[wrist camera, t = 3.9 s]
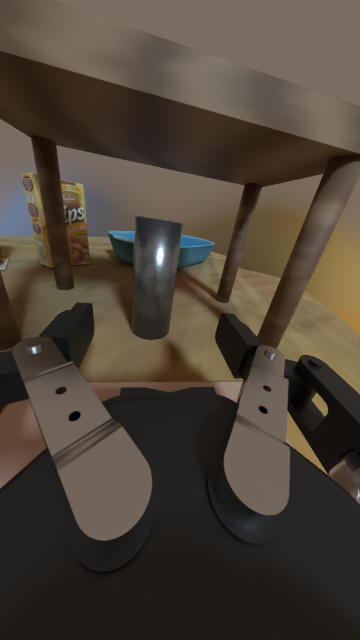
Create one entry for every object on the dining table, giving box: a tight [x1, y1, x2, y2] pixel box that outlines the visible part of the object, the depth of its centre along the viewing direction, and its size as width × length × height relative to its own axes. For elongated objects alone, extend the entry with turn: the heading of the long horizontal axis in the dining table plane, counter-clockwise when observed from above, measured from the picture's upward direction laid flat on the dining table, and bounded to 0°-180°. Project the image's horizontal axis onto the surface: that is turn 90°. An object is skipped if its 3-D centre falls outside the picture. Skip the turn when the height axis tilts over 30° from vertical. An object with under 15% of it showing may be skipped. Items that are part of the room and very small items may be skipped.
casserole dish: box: [108, 231, 215, 269], centre depth 59 cm, size 37×22×7 cm, turn 147°
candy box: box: [21, 172, 90, 268], centre depth 38 cm, size 9×4×15 cm, turn 147°
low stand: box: [0, 0, 360, 350], centre depth 22 cm, size 30×18×20 cm, turn 98°
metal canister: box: [132, 216, 183, 340], centre depth 20 cm, size 4×4×12 cm
